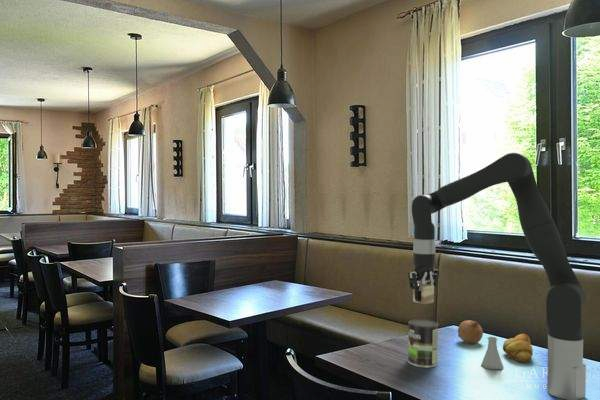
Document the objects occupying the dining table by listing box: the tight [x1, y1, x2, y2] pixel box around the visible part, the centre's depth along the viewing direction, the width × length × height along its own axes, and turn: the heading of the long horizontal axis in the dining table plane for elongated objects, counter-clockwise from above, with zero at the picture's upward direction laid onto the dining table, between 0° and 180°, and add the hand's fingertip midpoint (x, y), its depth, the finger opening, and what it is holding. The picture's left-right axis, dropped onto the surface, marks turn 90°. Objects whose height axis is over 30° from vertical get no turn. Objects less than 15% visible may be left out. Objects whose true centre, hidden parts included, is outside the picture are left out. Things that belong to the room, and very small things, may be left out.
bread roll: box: [502, 333, 534, 363], centre depth 178 cm, size 13×10×8 cm
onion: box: [457, 319, 484, 345], centre depth 195 cm, size 10×9×10 cm
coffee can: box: [407, 318, 439, 369], centre depth 172 cm, size 10×10×14 cm
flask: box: [481, 336, 504, 370], centre depth 169 cm, size 7×7×10 cm
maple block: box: [412, 283, 435, 305], centre depth 172 cm, size 5×5×6 cm
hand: (423, 299), depth 172 cm, fingers closed on maple block, 5 cm apart
